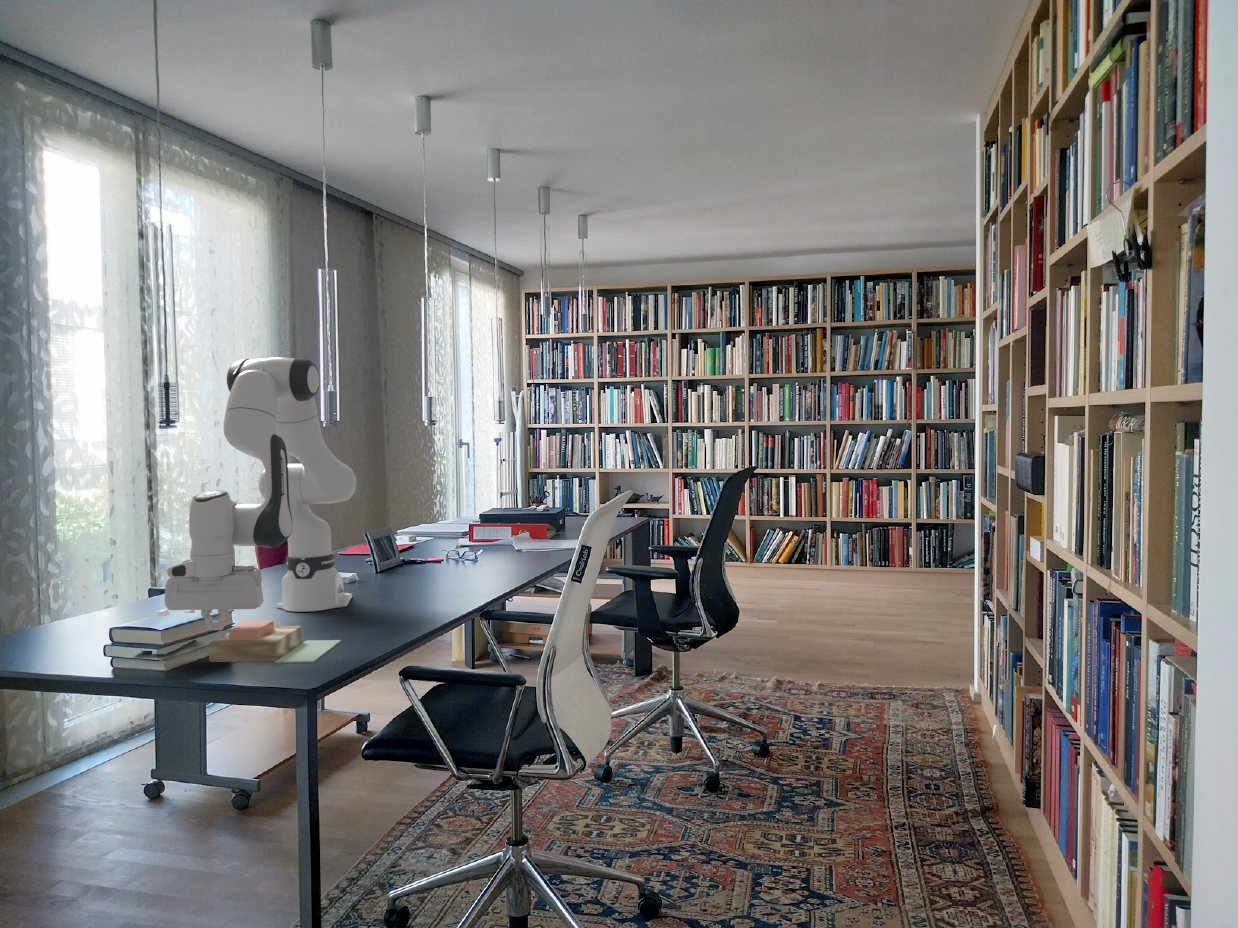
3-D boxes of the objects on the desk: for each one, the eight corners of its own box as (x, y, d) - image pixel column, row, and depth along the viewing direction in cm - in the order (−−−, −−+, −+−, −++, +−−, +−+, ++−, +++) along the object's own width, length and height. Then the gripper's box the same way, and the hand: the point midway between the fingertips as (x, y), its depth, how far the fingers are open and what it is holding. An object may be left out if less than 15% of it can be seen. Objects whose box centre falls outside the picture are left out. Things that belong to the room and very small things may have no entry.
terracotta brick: (247, 629, 201) (246, 620, 201) (274, 629, 201) (273, 620, 201) (229, 639, 192) (228, 630, 192) (257, 639, 192) (257, 629, 192)
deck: (240, 644, 204) (239, 626, 204) (301, 643, 204) (301, 625, 204) (209, 662, 189) (208, 643, 189) (276, 661, 189) (275, 642, 189)
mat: (306, 641, 205) (306, 640, 205) (341, 641, 205) (341, 639, 205) (275, 662, 187) (275, 661, 187) (313, 662, 187) (313, 661, 187)
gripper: (266, 563, 199) (269, 625, 199) (174, 564, 199) (176, 626, 200) (254, 567, 192) (257, 632, 193) (159, 569, 193) (162, 633, 193)
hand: (215, 629), depth 196 cm, fingers closed
